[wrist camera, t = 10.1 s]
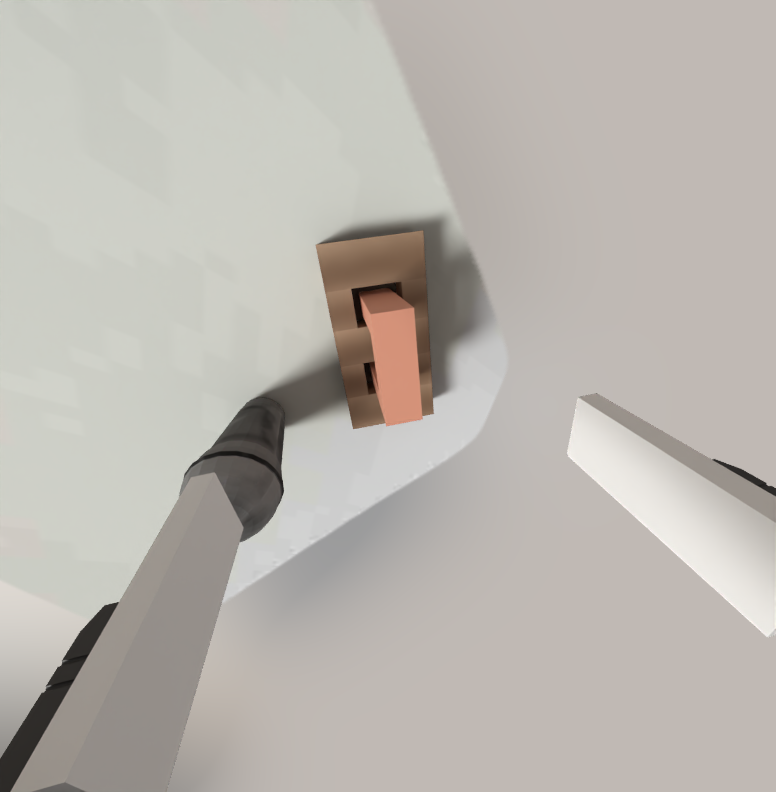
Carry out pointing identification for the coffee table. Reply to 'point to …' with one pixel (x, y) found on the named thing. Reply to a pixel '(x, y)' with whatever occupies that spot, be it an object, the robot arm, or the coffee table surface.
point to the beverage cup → (248, 463)
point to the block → (393, 354)
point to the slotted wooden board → (356, 269)
